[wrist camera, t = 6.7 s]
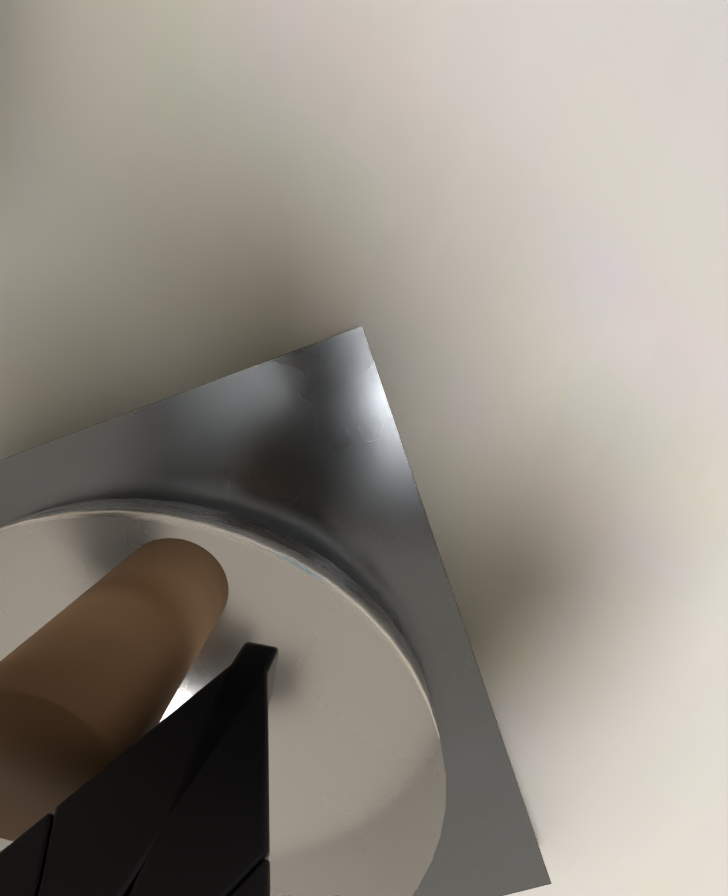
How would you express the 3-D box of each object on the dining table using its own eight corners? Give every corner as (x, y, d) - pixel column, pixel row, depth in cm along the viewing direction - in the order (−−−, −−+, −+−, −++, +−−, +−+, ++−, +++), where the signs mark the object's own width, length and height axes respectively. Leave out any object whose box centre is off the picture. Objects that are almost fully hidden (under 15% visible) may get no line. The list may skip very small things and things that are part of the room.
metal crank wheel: (-157, 888, 12) (-521, 1255, 7) (-60, 395, 9) (-628, 438, 4) (300, 1016, 14) (263, 1398, 9) (537, 634, 10) (706, 898, 5)
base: (-245, 554, 11) (-571, 656, 7) (362, 329, 10) (360, 307, 6) (72, 965, 15) (-30, 1176, 11) (537, 846, 14) (607, 1039, 10)
